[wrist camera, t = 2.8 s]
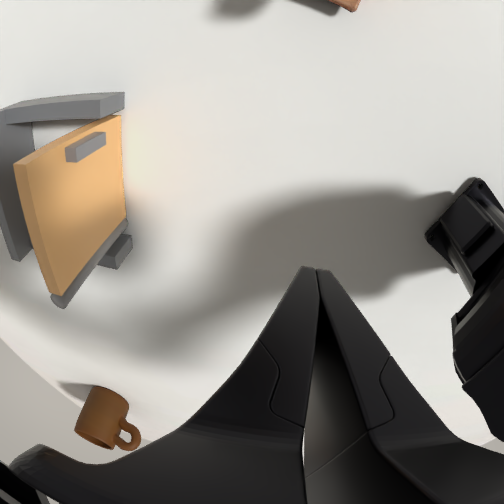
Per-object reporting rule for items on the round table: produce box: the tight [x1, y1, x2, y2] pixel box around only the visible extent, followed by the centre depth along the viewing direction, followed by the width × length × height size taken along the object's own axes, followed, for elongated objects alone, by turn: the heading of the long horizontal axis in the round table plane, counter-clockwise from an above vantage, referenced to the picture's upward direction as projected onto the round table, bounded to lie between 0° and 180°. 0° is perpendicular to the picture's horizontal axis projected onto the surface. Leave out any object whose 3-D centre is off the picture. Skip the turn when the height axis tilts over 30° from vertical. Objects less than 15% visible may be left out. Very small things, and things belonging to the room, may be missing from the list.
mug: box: [74, 387, 141, 451], centre depth 41 cm, size 12×8×9 cm, turn 91°
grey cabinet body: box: [0, 92, 133, 269], centre depth 19 cm, size 12×13×5 cm
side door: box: [13, 115, 128, 309], centre depth 17 cm, size 2×9×9 cm, turn 172°
